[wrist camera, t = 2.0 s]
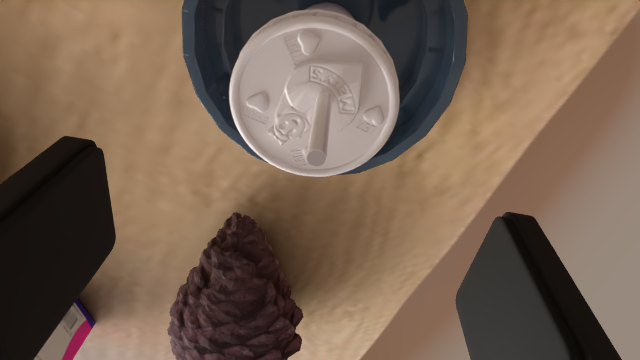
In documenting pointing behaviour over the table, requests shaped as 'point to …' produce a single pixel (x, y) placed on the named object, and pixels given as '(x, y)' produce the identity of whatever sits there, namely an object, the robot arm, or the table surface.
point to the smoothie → (314, 92)
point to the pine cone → (235, 301)
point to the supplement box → (67, 335)
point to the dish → (366, 8)
